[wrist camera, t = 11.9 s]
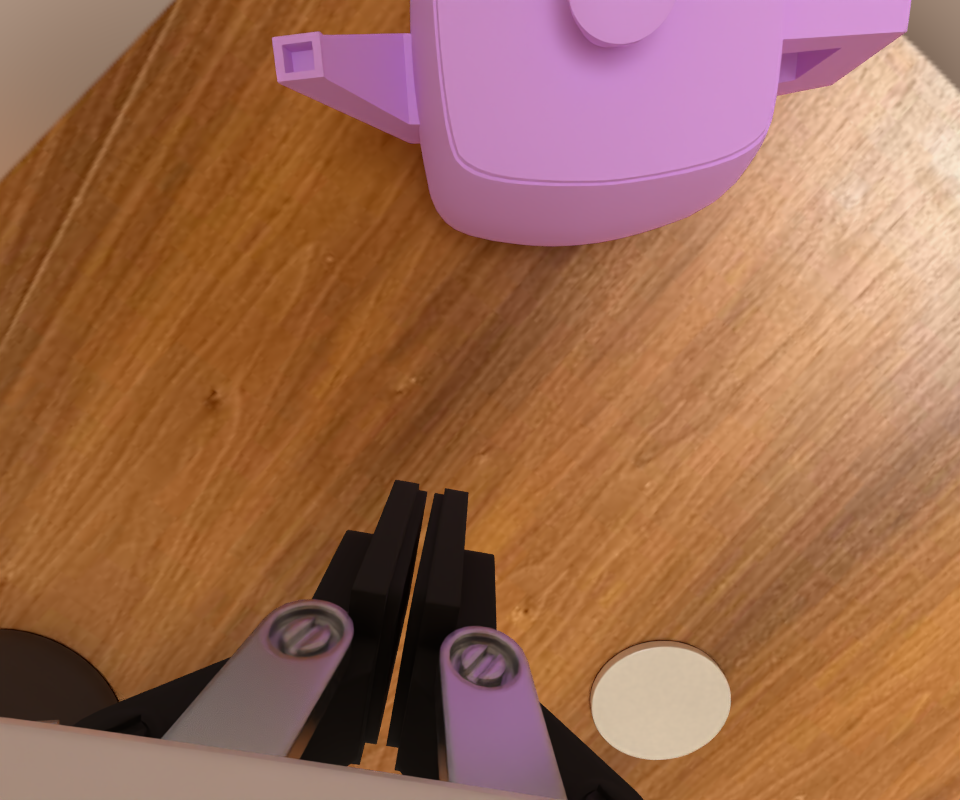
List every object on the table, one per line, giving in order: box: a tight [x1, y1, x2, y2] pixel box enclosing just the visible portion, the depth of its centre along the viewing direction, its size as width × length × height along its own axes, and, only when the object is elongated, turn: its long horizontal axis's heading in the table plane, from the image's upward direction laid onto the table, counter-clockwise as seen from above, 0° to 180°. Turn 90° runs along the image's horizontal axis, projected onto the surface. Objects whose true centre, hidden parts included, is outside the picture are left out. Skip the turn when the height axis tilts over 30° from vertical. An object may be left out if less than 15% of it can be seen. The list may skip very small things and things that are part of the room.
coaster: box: [590, 641, 731, 760], centre depth 34 cm, size 9×9×1 cm
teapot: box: [272, 0, 911, 246], centre depth 19 cm, size 20×12×13 cm, turn 94°
